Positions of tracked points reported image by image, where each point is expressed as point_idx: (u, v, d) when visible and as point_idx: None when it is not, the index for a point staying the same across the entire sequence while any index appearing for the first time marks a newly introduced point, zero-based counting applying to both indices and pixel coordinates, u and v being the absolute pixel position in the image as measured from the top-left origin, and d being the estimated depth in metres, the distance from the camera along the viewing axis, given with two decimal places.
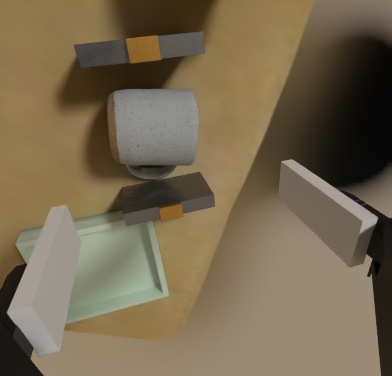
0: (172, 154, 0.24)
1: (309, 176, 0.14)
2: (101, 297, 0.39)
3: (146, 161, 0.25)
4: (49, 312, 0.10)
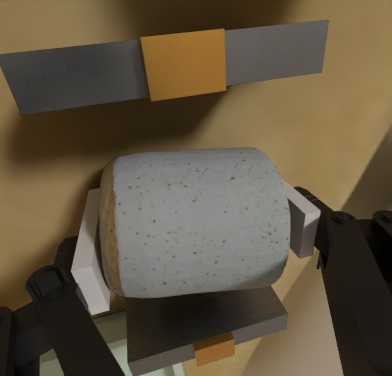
0: (231, 287, 0.12)
1: None
2: None
3: None
4: (101, 275, 0.11)
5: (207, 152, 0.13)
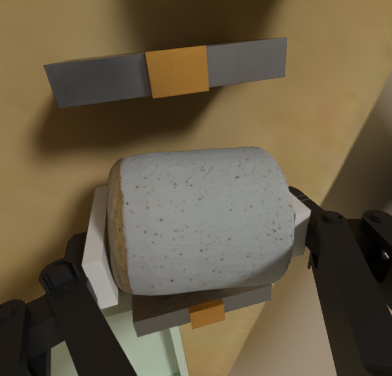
0: (237, 283, 0.12)
1: None
2: None
3: (184, 292, 0.13)
4: (110, 270, 0.11)
5: (211, 152, 0.13)
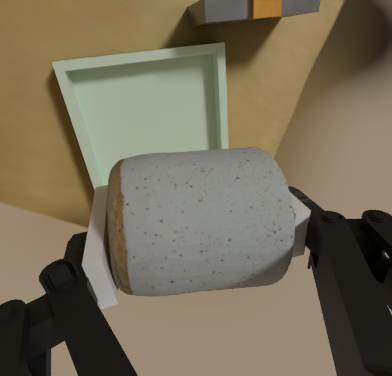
0: (237, 284, 0.12)
1: None
2: None
3: None
4: (110, 270, 0.11)
5: (211, 152, 0.13)
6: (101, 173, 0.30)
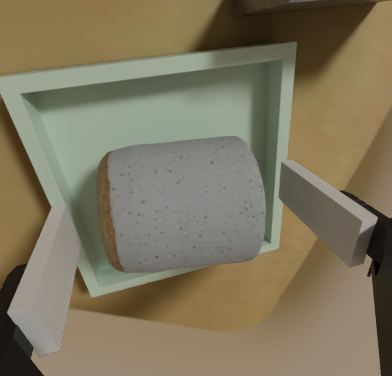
0: (217, 259, 0.14)
1: (309, 176, 0.14)
2: None
3: (171, 269, 0.14)
4: (49, 312, 0.10)
5: (191, 141, 0.14)
6: (91, 241, 0.20)
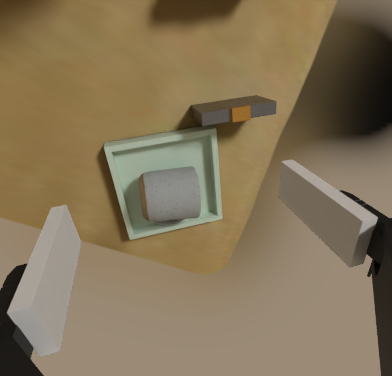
0: (184, 214, 0.36)
1: (309, 176, 0.14)
2: None
3: (166, 219, 0.36)
4: (49, 312, 0.10)
5: (174, 169, 0.37)
6: (130, 212, 0.42)
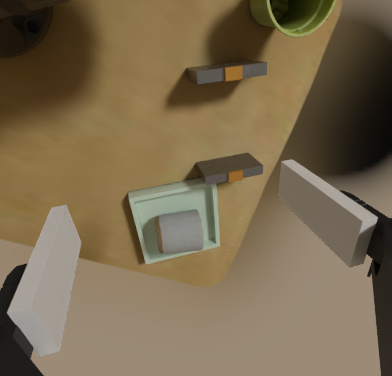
0: (190, 249, 0.46)
1: (309, 176, 0.14)
2: None
3: (176, 252, 0.47)
4: (49, 312, 0.10)
5: (182, 213, 0.47)
6: (146, 243, 0.52)
